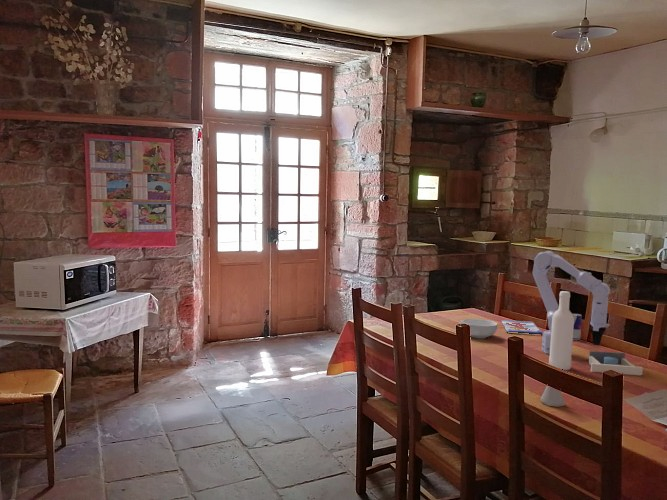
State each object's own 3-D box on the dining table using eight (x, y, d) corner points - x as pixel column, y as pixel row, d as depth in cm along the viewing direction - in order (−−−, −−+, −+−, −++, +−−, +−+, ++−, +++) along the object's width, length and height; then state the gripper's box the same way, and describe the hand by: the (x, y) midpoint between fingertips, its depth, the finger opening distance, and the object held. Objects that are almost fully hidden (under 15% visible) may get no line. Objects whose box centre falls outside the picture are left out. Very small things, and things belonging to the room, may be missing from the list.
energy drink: (581, 341, 249) (583, 316, 248) (569, 340, 250) (571, 315, 249) (578, 338, 255) (580, 313, 254) (566, 337, 256) (568, 313, 255)
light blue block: (605, 369, 207) (606, 359, 207) (601, 365, 212) (602, 356, 212) (619, 370, 206) (620, 360, 206) (614, 366, 211) (615, 357, 211)
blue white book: (534, 326, 280) (534, 321, 280) (543, 337, 257) (543, 331, 257) (500, 323, 283) (500, 318, 283) (506, 334, 260) (506, 329, 260)
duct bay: (591, 371, 204) (592, 363, 204) (582, 362, 215) (583, 355, 215) (642, 375, 201) (642, 367, 201) (630, 366, 212) (630, 358, 212)
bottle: (573, 367, 208) (579, 292, 206) (566, 371, 203) (571, 294, 200) (553, 362, 214) (558, 289, 211) (545, 366, 208) (550, 291, 206)
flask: (536, 399, 173) (538, 369, 172) (557, 398, 174) (559, 369, 173) (547, 407, 166) (549, 376, 165) (569, 407, 167) (571, 376, 166)
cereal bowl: (500, 335, 256) (501, 321, 255) (491, 343, 242) (491, 327, 241) (466, 330, 265) (467, 316, 264) (455, 337, 251) (455, 322, 250)
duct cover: (589, 362, 215) (590, 351, 214) (588, 361, 216) (589, 350, 216) (624, 364, 213) (625, 353, 213) (623, 363, 214) (624, 352, 214)
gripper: (608, 317, 210) (605, 350, 211) (612, 311, 222) (609, 342, 223) (588, 314, 214) (585, 347, 215) (593, 308, 226) (590, 339, 227)
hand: (596, 344), depth 219 cm, fingers closed
